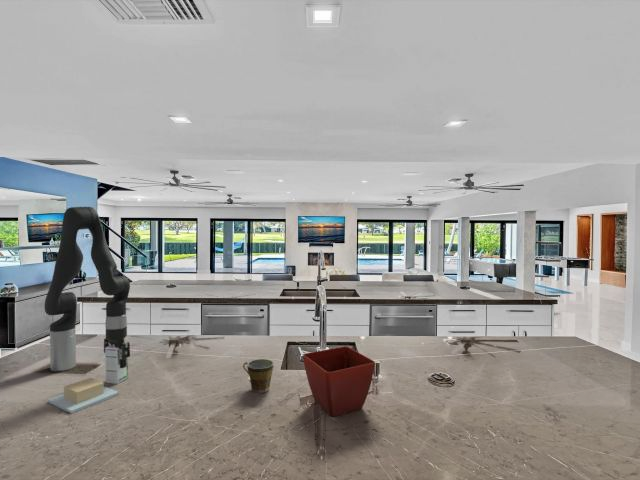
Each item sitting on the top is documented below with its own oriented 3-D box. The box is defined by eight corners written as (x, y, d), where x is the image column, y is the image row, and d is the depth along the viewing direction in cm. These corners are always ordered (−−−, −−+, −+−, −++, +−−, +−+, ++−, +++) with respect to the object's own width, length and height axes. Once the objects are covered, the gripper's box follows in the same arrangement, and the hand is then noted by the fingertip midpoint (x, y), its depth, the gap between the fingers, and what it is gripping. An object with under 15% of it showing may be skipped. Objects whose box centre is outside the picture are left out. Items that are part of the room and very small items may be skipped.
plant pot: (326, 425, 113) (327, 372, 112) (301, 399, 130) (301, 353, 129) (376, 411, 122) (376, 362, 121) (346, 389, 139) (346, 345, 138)
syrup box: (118, 384, 142) (117, 347, 142) (105, 382, 144) (104, 346, 143) (128, 378, 148) (128, 343, 148) (116, 377, 149) (115, 342, 149)
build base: (48, 402, 127) (47, 388, 127) (95, 385, 141) (94, 372, 141) (71, 413, 119) (71, 398, 119) (118, 394, 133) (118, 381, 133)
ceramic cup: (278, 386, 141) (278, 361, 140) (264, 397, 131) (264, 370, 131) (251, 380, 146) (251, 356, 146) (235, 390, 137) (235, 364, 137)
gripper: (96, 325, 145) (97, 365, 146) (117, 330, 138) (117, 372, 139) (115, 321, 152) (115, 359, 152) (135, 326, 145) (136, 366, 145)
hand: (116, 365), depth 146 cm, fingers open, 8 cm apart
